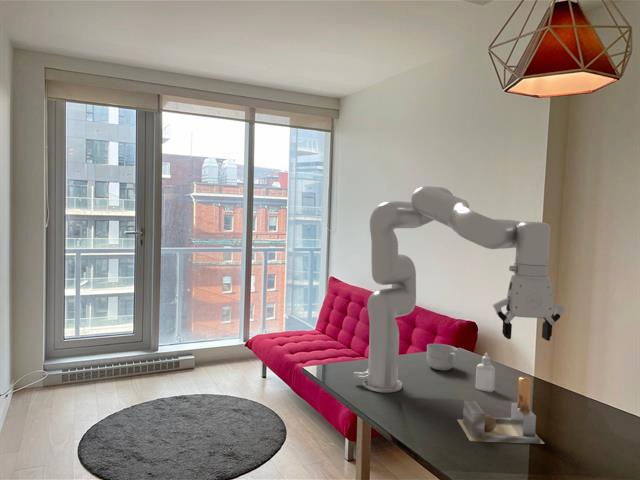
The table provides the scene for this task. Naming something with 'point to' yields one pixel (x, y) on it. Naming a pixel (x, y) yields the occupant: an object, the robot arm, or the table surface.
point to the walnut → (489, 423)
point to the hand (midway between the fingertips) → (526, 338)
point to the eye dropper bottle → (485, 375)
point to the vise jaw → (523, 409)
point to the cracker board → (501, 433)
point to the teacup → (441, 356)
